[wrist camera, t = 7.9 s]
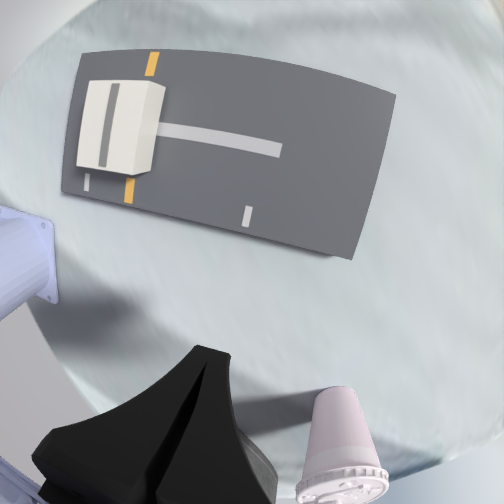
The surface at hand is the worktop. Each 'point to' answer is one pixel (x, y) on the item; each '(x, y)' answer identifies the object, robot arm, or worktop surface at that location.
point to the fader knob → (120, 125)
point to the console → (245, 145)
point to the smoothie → (340, 454)
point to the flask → (261, 467)
